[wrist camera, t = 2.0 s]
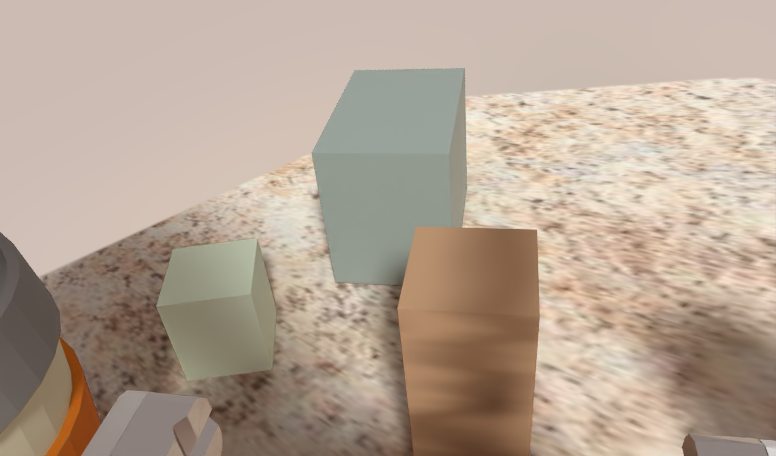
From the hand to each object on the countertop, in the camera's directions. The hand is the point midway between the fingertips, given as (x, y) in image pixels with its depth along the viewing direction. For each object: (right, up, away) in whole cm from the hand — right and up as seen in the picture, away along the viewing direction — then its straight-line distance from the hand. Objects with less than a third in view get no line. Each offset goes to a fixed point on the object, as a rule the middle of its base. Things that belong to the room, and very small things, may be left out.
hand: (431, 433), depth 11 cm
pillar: (+4, -8, +20) cm, 22 cm away
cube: (-10, -4, +28) cm, 30 cm away
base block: (+1, +3, +36) cm, 36 cm away
